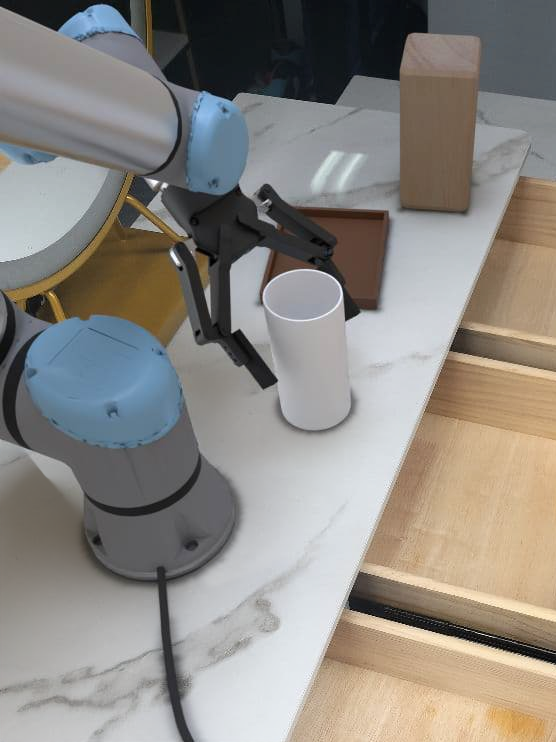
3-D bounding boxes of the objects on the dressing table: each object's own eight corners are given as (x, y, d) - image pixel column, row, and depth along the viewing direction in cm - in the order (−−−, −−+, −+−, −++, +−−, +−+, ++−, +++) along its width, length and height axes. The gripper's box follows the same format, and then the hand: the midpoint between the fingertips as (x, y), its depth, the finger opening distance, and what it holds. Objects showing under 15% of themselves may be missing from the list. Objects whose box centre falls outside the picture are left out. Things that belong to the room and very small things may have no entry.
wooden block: (471, 175, 123) (482, 32, 107) (468, 214, 118) (479, 70, 101) (406, 171, 124) (406, 29, 107) (399, 210, 118) (398, 66, 102)
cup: (271, 392, 97) (251, 281, 84) (335, 371, 99) (325, 260, 86) (295, 439, 93) (278, 330, 80) (361, 417, 95) (355, 307, 82)
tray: (376, 309, 106) (376, 298, 104) (261, 303, 106) (259, 293, 105) (389, 220, 117) (388, 210, 115) (283, 216, 117) (282, 205, 116)
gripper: (100, 219, 73) (247, 410, 80) (287, 104, 84) (402, 281, 92) (80, 247, 79) (219, 422, 87) (257, 137, 91) (367, 300, 98)
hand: (313, 350), depth 89 cm, fingers open, 13 cm apart
